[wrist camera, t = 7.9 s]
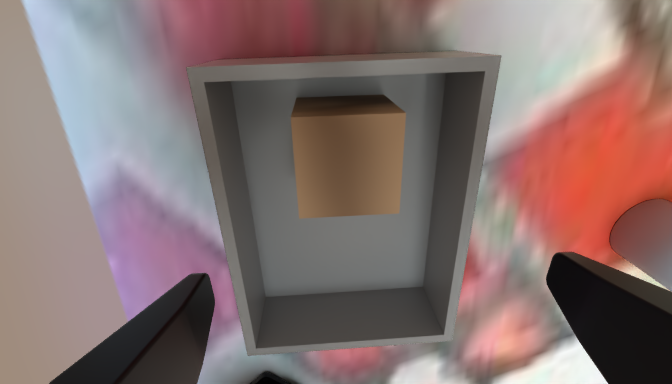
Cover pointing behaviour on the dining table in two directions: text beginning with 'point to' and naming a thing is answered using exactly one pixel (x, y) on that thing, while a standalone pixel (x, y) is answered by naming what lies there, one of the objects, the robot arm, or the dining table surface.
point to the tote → (346, 231)
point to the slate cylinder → (647, 239)
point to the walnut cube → (347, 155)
